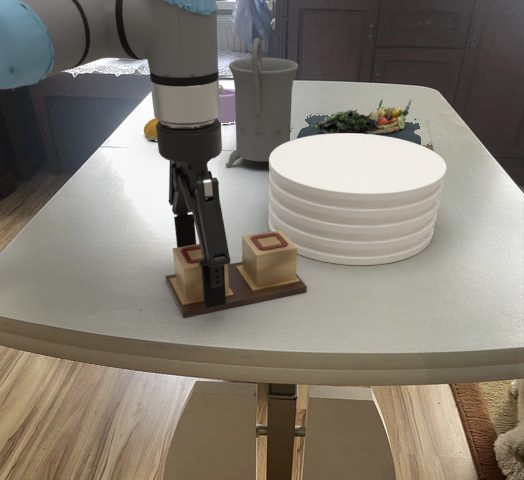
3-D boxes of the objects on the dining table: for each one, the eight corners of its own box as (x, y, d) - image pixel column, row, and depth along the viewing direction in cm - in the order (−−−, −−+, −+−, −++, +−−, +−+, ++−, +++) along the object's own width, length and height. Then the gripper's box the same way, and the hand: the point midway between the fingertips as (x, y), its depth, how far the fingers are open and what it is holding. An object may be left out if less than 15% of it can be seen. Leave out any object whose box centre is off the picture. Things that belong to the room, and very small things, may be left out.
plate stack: (263, 195, 105) (263, 134, 98) (407, 192, 106) (417, 131, 99) (274, 268, 83) (276, 195, 76) (455, 263, 84) (473, 191, 77)
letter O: (256, 287, 76) (256, 253, 73) (242, 267, 81) (241, 235, 78) (296, 279, 78) (297, 246, 75) (279, 260, 83) (280, 228, 79)
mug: (238, 148, 127) (234, 24, 112) (301, 152, 125) (306, 26, 110) (219, 177, 113) (212, 39, 97) (290, 182, 111) (294, 42, 95)
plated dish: (426, 118, 147) (431, 89, 143) (435, 154, 126) (441, 120, 121) (296, 114, 152) (297, 85, 147) (284, 148, 130) (284, 115, 125)
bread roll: (150, 144, 130) (148, 126, 127) (141, 133, 136) (139, 116, 134) (184, 140, 132) (182, 122, 130) (174, 129, 139) (172, 113, 136)
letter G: (186, 301, 74) (183, 267, 70) (175, 279, 78) (172, 246, 75) (229, 292, 75) (227, 259, 72) (216, 272, 80) (214, 239, 76)
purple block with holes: (241, 114, 150) (241, 87, 145) (232, 128, 140) (231, 99, 136) (170, 111, 152) (168, 84, 148) (157, 124, 142) (153, 95, 138)
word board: (183, 318, 73) (182, 310, 72) (165, 281, 80) (164, 274, 79) (306, 292, 78) (306, 284, 77) (279, 260, 85) (279, 253, 84)
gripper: (257, 148, 55) (257, 322, 68) (191, 92, 73) (201, 237, 86) (184, 157, 53) (199, 335, 66) (134, 96, 71) (154, 245, 84)
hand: (200, 279), depth 76 cm, fingers open, 13 cm apart
